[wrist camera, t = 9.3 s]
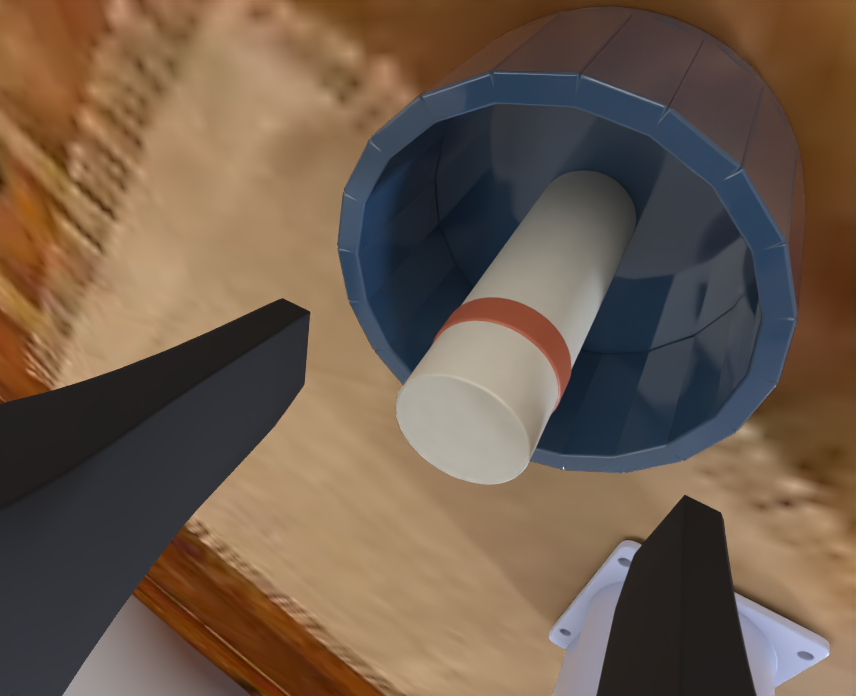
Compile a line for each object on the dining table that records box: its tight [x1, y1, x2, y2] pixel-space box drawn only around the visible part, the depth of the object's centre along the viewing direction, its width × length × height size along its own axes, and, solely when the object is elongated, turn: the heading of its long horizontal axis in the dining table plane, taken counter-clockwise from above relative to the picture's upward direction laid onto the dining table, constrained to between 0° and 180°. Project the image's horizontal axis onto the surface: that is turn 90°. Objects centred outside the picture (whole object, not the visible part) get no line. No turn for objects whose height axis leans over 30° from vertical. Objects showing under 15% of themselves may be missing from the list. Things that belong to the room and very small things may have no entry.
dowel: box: [395, 170, 636, 484], centre depth 15 cm, size 3×3×8 cm
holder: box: [337, 6, 806, 473], centre depth 16 cm, size 10×10×5 cm
